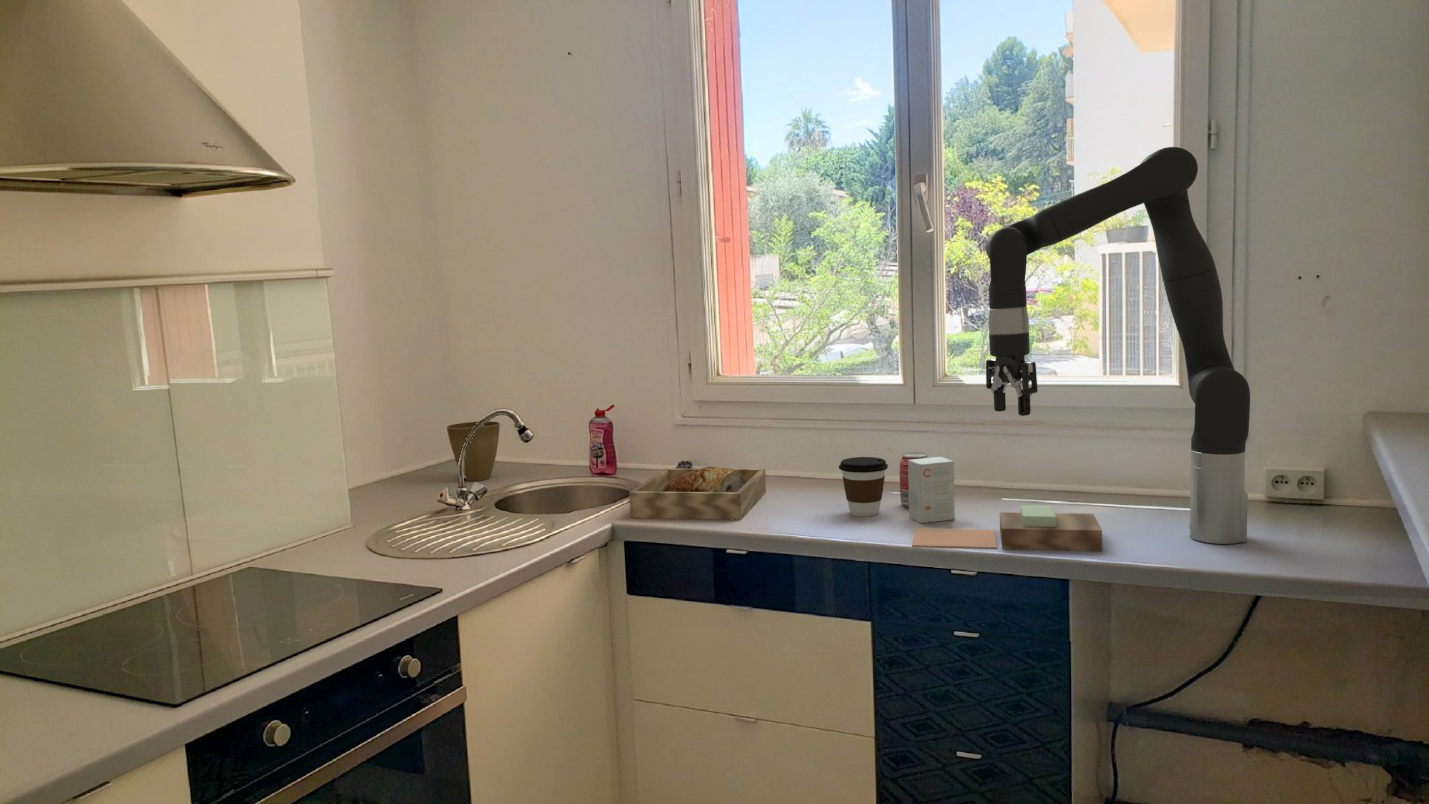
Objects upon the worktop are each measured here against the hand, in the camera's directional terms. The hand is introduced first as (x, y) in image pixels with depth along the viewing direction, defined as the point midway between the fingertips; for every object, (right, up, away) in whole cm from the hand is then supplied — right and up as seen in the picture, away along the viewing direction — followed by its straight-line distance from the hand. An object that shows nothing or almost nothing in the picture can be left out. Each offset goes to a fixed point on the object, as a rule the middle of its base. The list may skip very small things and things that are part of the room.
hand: (1011, 413), depth 192 cm
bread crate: (-62, -23, +44) cm, 79 cm away
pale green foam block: (+5, -21, -1) cm, 22 cm away
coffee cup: (-25, -23, +28) cm, 44 cm away
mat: (-11, -25, +4) cm, 28 cm away
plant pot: (-128, -20, +90) cm, 157 cm away
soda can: (-12, -22, +33) cm, 42 cm away
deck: (+7, -25, -1) cm, 26 cm away
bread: (-62, -23, +44) cm, 79 cm away
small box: (-11, -24, +21) cm, 33 cm away
